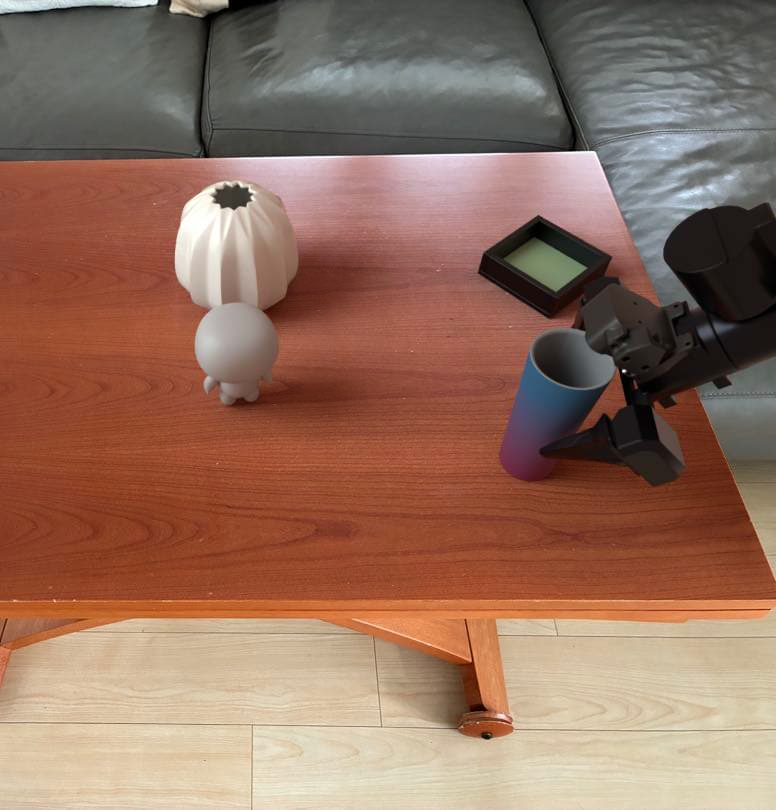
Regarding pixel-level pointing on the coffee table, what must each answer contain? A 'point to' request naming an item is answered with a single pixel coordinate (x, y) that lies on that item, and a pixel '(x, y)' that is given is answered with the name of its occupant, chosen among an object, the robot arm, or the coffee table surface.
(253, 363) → the figurine
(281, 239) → the vase
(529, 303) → the tray
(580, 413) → the cup
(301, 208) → the coffee table surface
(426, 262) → the coffee table surface
